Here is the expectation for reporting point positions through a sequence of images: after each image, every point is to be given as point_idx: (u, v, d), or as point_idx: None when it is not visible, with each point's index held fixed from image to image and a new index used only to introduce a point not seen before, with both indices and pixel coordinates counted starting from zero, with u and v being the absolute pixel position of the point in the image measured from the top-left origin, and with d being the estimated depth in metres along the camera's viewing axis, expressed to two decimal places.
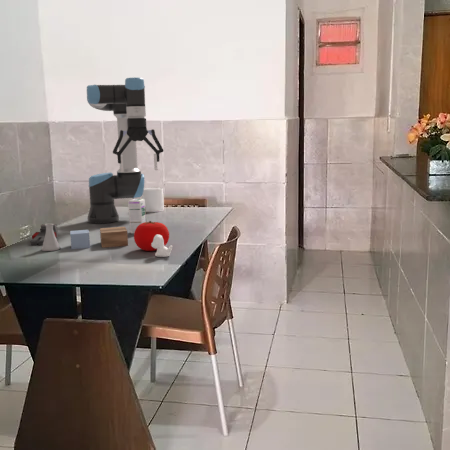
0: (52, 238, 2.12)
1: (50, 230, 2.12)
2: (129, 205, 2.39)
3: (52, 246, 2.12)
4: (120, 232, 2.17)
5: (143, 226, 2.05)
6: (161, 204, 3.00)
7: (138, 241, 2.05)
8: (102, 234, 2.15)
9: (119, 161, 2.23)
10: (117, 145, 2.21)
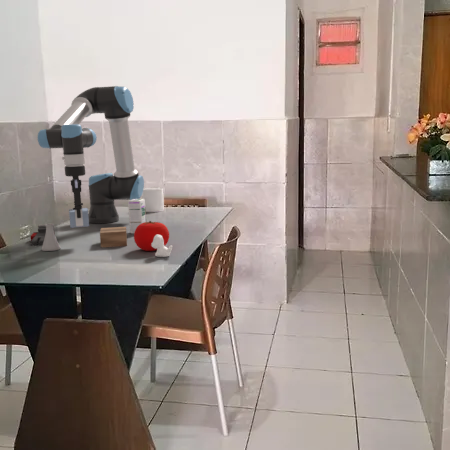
0: (52, 238, 2.12)
1: (50, 230, 2.12)
2: (129, 205, 2.39)
3: (52, 246, 2.12)
4: (119, 232, 2.17)
5: (143, 226, 2.05)
6: (161, 204, 3.00)
7: (138, 241, 2.05)
8: (101, 234, 2.15)
9: None
10: None
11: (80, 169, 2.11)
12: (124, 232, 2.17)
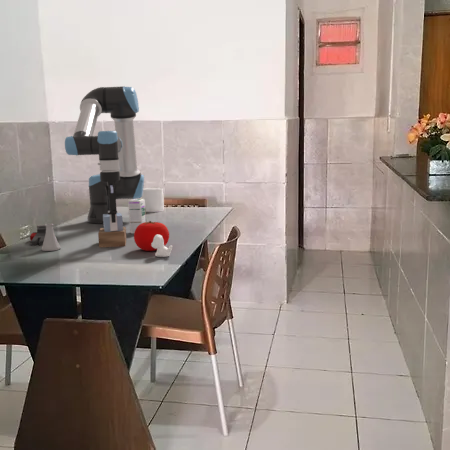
0: (52, 238, 2.12)
1: (50, 230, 2.12)
2: (129, 205, 2.39)
3: (52, 246, 2.12)
4: (117, 232, 2.16)
5: (143, 226, 2.05)
6: (161, 204, 3.00)
7: (138, 241, 2.05)
8: (99, 234, 2.15)
9: None
10: (107, 199, 2.25)
11: (116, 175, 2.14)
12: (122, 232, 2.16)
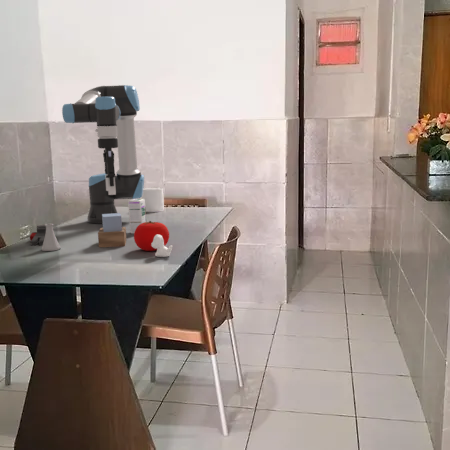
0: (52, 238, 2.12)
1: (50, 230, 2.12)
2: (129, 205, 2.39)
3: (52, 246, 2.12)
4: (117, 232, 2.16)
5: (143, 226, 2.05)
6: (161, 204, 3.00)
7: (138, 241, 2.05)
8: (99, 234, 2.16)
9: None
10: None
11: (113, 141, 2.12)
12: (122, 232, 2.16)
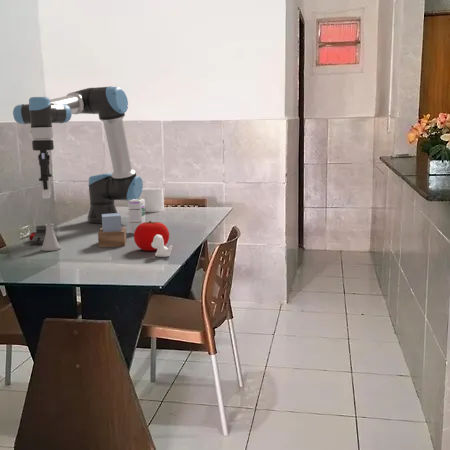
0: (52, 238, 2.12)
1: (50, 230, 2.12)
2: (129, 205, 2.39)
3: (52, 246, 2.12)
4: (117, 232, 2.16)
5: (143, 226, 2.05)
6: (161, 204, 3.00)
7: (138, 241, 2.05)
8: (99, 234, 2.16)
9: None
10: None
11: (48, 143, 2.05)
12: (122, 232, 2.16)
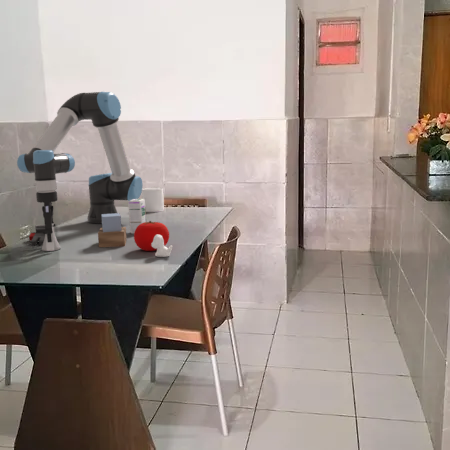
0: None
1: None
2: (129, 205, 2.39)
3: None
4: (117, 232, 2.16)
5: (143, 226, 2.05)
6: (161, 204, 3.00)
7: (138, 241, 2.05)
8: (99, 234, 2.16)
9: None
10: None
11: (52, 195, 2.09)
12: (122, 232, 2.16)
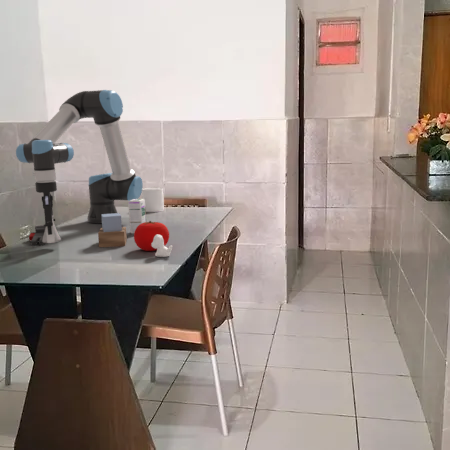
0: None
1: None
2: (129, 205, 2.39)
3: None
4: (117, 232, 2.16)
5: (143, 226, 2.05)
6: (161, 204, 3.00)
7: (138, 241, 2.05)
8: (99, 234, 2.16)
9: None
10: None
11: (51, 185, 2.08)
12: (122, 232, 2.17)
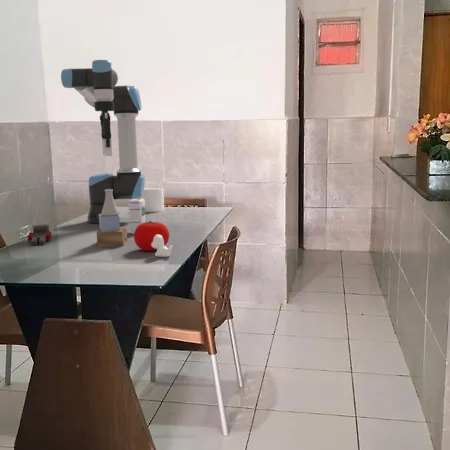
0: (112, 203, 2.18)
1: (110, 195, 2.18)
2: (129, 205, 2.39)
3: (112, 211, 2.17)
4: (115, 232, 2.17)
5: (143, 226, 2.05)
6: (161, 204, 3.00)
7: (138, 241, 2.05)
8: (98, 233, 2.17)
9: (103, 144, 2.30)
10: (101, 128, 2.29)
11: (110, 104, 2.17)
12: (120, 232, 2.17)
